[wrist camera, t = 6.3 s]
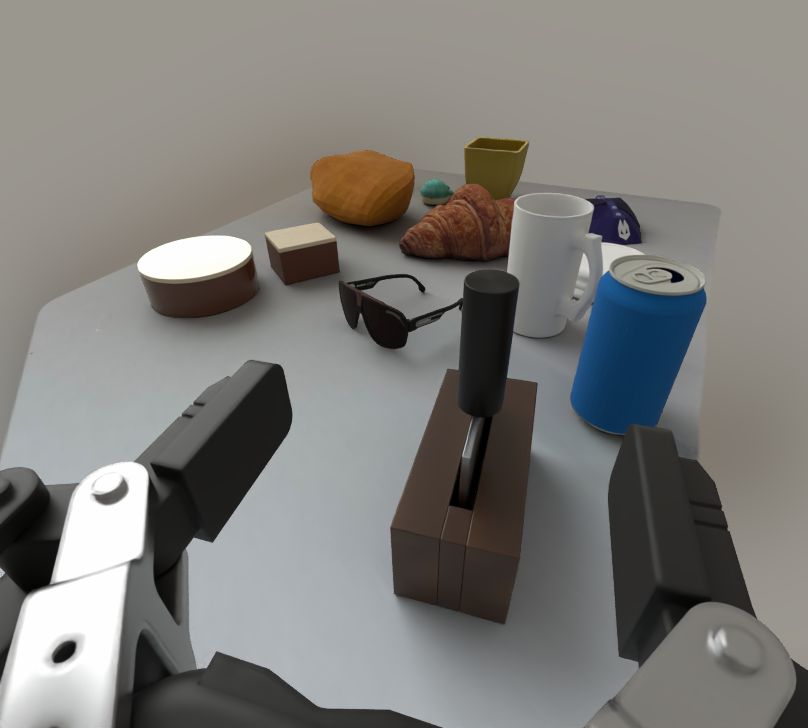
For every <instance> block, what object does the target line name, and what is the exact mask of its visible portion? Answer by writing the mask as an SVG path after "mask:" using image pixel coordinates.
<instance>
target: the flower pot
mask: <svg viewBox="0 0 808 728" xmlns="http://www.w3.org/2000/svg"><path fill="white" fill-rule="evenodd" d="M528 146H529V141H524V140H513V139H500V138H485V137H478V138H476V139H475V140H474V141H472V142H471V143H469V144H468V145H466V146H465V147H464V156H465V157H464V159H465V179H466V184H478V185H480V186H482V187H483V188H485V189H486V190H487V191H488V192H489V193H490V194H491V196H492V198H493V199H494V201H497V200H501V199H505V198H509V197H510V195H511V194H512V192H513V191H514V189H515V187H516V185H517V183H518V181H519V179H520V176H521V174H522V170H523V166H524V162H525V158H526V154H527V149H528Z"/></svg>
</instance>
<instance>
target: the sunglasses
mask: <svg viewBox="0 0 808 728" xmlns="http://www.w3.org/2000/svg"><path fill="white" fill-rule="evenodd" d="M391 278H410V279H412V280H413V281H415V282H416V283H417V285H418V287H419V290H420V291H421V292H424V291H425V287H424V286H423V285H422V284H421V283H420V282H419V281H418V280H417V279H416V278H415V277H413V276H411V275H407V274H396V275H386V276H380V277H376V278H370V279H365V280H359V281H354V282H348V283H345V282H343V281H339V292H340V299H341V303H342V307H343V311H344V314H345V317H346V320H347V322H348V324H349V325H350V326H351V328H352V329H355V328H356V327H357V324H358V319H359V315H360V313H361V314H362V316H363V320H364V323H365V326H366V328H367V330H368V332H369V334H370V336H371V337H372V339H373V340H374V341H375V342H376V343H377V344H378V345H380V346H382V347H385V348H390V349H398V348H402V347H404V346H405V344H406V342H407V337H408V332H411V331H413V330H416V329H417V328H419V327H422V326H424V325H427V324H429V323H432V322H435V321H437V320H438V319H440V317H441V316H442V315H443V314H444V313H445V312H446V311H448V310H451V309H453V308H455V307H456V306H458V305H459V310H461V309H462V305H463V298H461V299H460V300H458V301H457V302H456V303H454V304H452V305H450V306H448V307H445V308H442V309H439V310H436V311H433V312H430V313H427V314H425V315H422V316H419V317H416V318H413V319H406V317H405V316H404V314H403V313H402V312H400V311H399V310H397V309H395V308H393V307H390V306H388V305H386V304H385V303H384V302H382V301H380V300H377V299H375V298H373V297H371V296H369V295H368V294H366V293H364V292H362V291H361V290H366V289H371V288H373V287H374V286H375V285H376V283H377V282H379V281H380V280H385V279H391Z"/></svg>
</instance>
